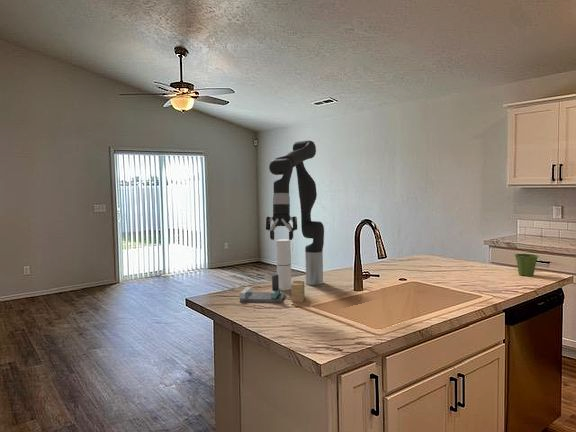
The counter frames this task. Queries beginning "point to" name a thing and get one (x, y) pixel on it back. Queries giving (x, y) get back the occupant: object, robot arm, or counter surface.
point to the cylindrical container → (284, 263)
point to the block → (297, 291)
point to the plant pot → (526, 264)
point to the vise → (259, 296)
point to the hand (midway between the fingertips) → (281, 239)
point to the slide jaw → (275, 286)
